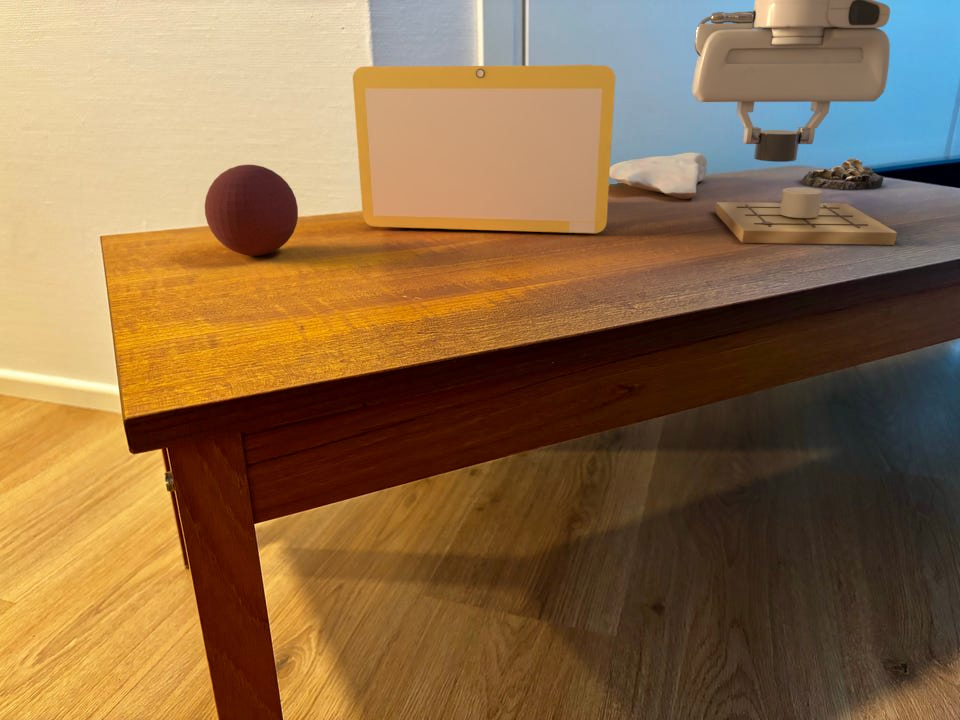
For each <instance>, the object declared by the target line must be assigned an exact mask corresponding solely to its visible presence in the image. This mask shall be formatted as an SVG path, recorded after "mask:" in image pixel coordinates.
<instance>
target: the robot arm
mask: <svg viewBox="0 0 960 720" xmlns="http://www.w3.org/2000/svg"><path fill="white" fill-rule="evenodd" d="M890 15H891V8H890V6H889V5H887V4H885V3H883V2H880V1H877V0H754V5H753V11H735V12H734V11H733V12H724V11H717V12H712V13H711V15H710V16H707V17H705V18H704V19H702V20H701V21H700V22H699V24H698V25H697V27H696V30H695V38H694V49H695V52H696V54H697V59H696V64H695V68H694V72H693V78H692V85H691V93H692V96H693V97H694V99H695V100H696V101H698V102H700V103H737V105H736V113H737V115H738V118H739V120H740V122H741V124H742V126H743V129H744V130H743V136H742V137H743V138H742V143H743V144H745V145H756V144H759V140H760V138H759V135H760V133H761V131H762V128H761V127H758V126H754V124H753V122H752V120H751V118H750V114H749V113H753V112H754V109H755V108H754V107H755V103H759V102H760V103H773V102H774V103H782V102H783V103H806V102H807V103H809V102H810V108H809V109H810V112H814V113H813V114H812V115H811V117H810V118H809V120H808V121H807V123H806V124H805V125H804V126H797V128H796V132H799V133H800V138H799V144H798V145H812V144H813V143H814V139H815V133H816V129H817V128H818V127H819V126H820V125H821V123H822V122H823V121H824V119H825V118H826V117H827V115H828V114H829V111H830V106H831V103H833V102H834V103H835V102H837V103H839V102H840V103H842V102H843V103H844V102H849V103H851V102H854V103H855V102H856V103H857V102H858V103H859V102H861V103H862V102H867V103H869V102H876V101H878V99H879V98H880V97H881V96H882V95H883V94H884V93H885V90H886V86H887V81H888V75H889V67H890V54H891V45H890V39H889V35H887V33H886V32H885V31H884V30H882V29H880V28H883V27H885V26H886V25H887V24H888V22H889V20H890ZM708 22H710V23H708Z"/></svg>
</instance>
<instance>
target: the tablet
mask: <svg viewBox="0 0 960 720" xmlns="http://www.w3.org/2000/svg"><path fill="white" fill-rule="evenodd" d="M352 87H353V100H354V101H353V102H354V115H355V127H356V128H355V130H356V143H357V144H356V145H357V157H358V169H359V170H358V172H359V184H360V199H361V211H362V212H361V213H362V218H363V219H362V220H363V221H364V222H365V223H366V224H367V225H368V226H370V227H375V228H377V227H379V228H410V229H439V230H440V229H443V230H477V231H503V232H505V231H506V232H507V231H508V232H509V231H510V232H541V233H567V234H568V233H569V234H571V233H572V234H573V233H575V234H599V233H601V232H603V231H604V230H605V228H606V227H607V224H608V223H607V221H608V208H609V207H608V206H609V191H610V190H609V189H610V166H611V157H612V156H611V155H612V139H613V122H614V106H615V89H616V74H615V71H614V70H613V68H611V67H610V66H608V65H603V64H602V65H601V64H600V65H599V64H598V65H596V64H594V65H592V64H555V65H554V64H553V65H550V64H549V65H401V66H400V65H399V66H398V65H396V66H395V65H393V66H392V65H389V66H388V65H387V66H384V65H383V66H382V65H381V66H379V65H378V66H374V65H373V66H367V65H366V66H365V65H364V66H360V67H358V68H357V69H356V68H355V70H354V72H353V75H352Z"/></svg>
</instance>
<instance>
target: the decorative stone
mask: <svg viewBox="0 0 960 720" xmlns="http://www.w3.org/2000/svg"><path fill="white" fill-rule="evenodd" d="M707 163H708V161H707V159H706V157H705V156H704V154H703V153H701V152H684V153H677V154H671V155H659V156H657V155H656V156H648V157H644V158H634V159H628V160H623V161H620V162H617V163H615V164H612V165H610V175H609V178H611V179H613V180H614V181H616V182H619V183H622V184H624V185H628V186H630V187H633V188H637V189H642V190H647V191H651V192H657V193H662V194H665V195H666V196H667V195H668V196H670V197H673V198H678V199H681V200H689V199H690V198H693V197H695V196H696V194H697V184H698V183H700V182H702V181H703V180H704V178H705V177H706V174H707Z"/></svg>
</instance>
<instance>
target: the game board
mask: <svg viewBox="0 0 960 720" xmlns="http://www.w3.org/2000/svg"><path fill="white" fill-rule="evenodd" d="M780 205H781V202H736V201H735V202H731V201H730V202H729V201H727V202H725V201H724V202H723V201H720V202H719V201H718V202H716V205H715V215H717V217H718V218H719V219H720V220H721V221H722V222H723V223H724V224H725V226H726V227H727V228H728V229H729V230H730V231H731V233H733V235H734V236H735V237H736V239H738V241H740V243H742V244H783V245H784V244H786V245H787V244H788V245H789V244H792V245H798V244H799V245H863V246H864V245H866V246H867V245H868V246H896V245H895V244H896V240H897V234H898V232H897V231H896V230H893V228H891V227H888V226H886V225H885V224H883V223H882V222H880V221H878V220H876V219H875V218H873V217H872V216H869V215H867V214H866V213H863V212H862V211H860V210H859V209H857V208H855V207H853V206H851V205H850V204H848V203H846V202H842V203H841V202H821V206H820V212H819V216H818V217H815V218H792V217H786V216H783V215H781V214H780V213H779V212H780Z"/></svg>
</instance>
